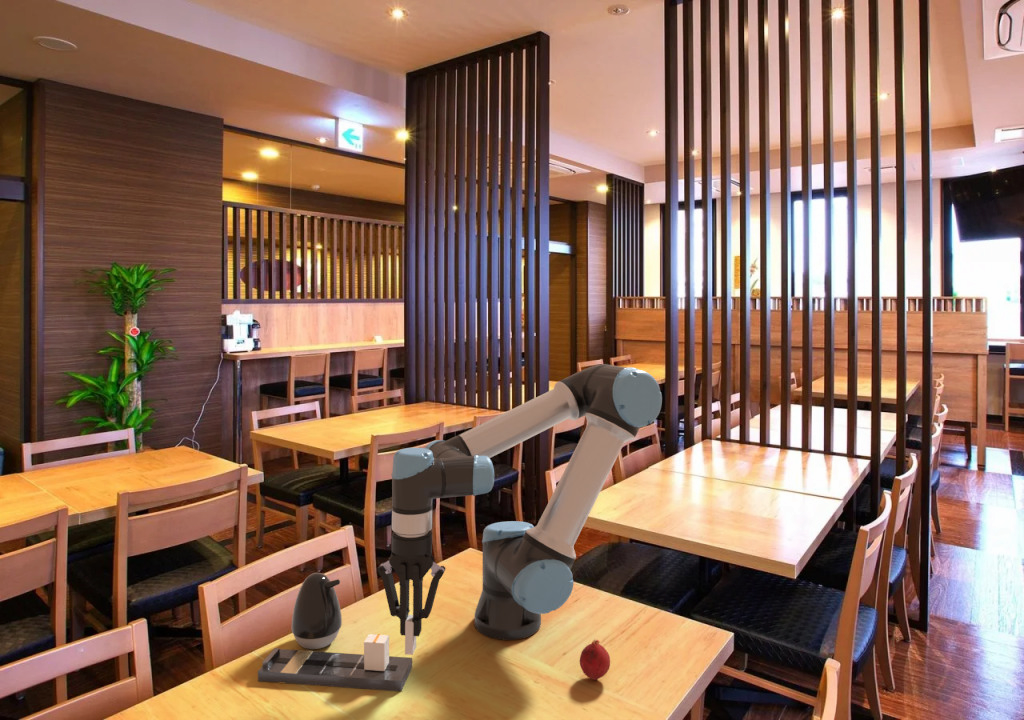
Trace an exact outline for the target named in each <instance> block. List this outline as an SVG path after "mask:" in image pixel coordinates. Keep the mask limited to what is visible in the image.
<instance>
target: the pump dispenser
mask: <svg viewBox="0 0 1024 720" xmlns="http://www.w3.org/2000/svg"><path fill="white" fill-rule="evenodd" d="M340 584H341V581H340V579H339V578H338V579H332V580H330V578H329V577H328V576H327V575H326V574H324V573H321V572H313V573H310V574H309V575H308V576H307V577H305V579H304V581H303V582H302V584H301V586H300V588H299V590H298V594H297V597H296V599H295V603H294V607H293V611H292V619H291V632H292V635H293V636H294V639H295V641H296V642H297V644H298V645H300V646H301V647H303V648H305V649H307V650H319V649H323V648H326V647H328V646H329V645H331V644H332V643H333V642H334V641H335V640H336V638H337V637H338V635H339V632H340V630H341V627H342V625H343V624H342V623H343V621H342V612H341V611H342V610H341V606H340V601H339V599H338V595H337V593H336V589H335V587H336V586H339V585H340Z"/></svg>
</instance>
